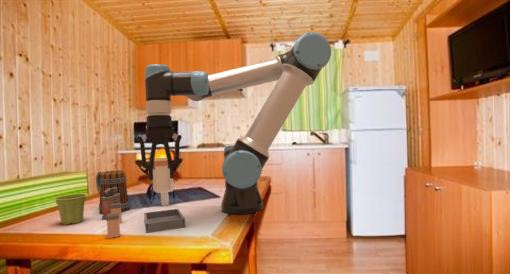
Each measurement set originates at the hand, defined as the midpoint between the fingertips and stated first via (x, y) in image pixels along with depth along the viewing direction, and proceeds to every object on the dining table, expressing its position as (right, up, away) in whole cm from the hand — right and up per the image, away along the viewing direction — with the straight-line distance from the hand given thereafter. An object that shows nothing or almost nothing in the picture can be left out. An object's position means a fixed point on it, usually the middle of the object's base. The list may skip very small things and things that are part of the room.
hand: (161, 189), depth 97 cm
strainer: (-7, -11, +27) cm, 30 cm away
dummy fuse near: (-10, -11, -10) cm, 18 cm away
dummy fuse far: (-16, -11, +4) cm, 20 cm away
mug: (-26, -12, +22) cm, 36 cm away
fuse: (0, 0, 0) cm, 0 cm away
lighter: (-21, -12, +12) cm, 27 cm away
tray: (+1, -11, 0) cm, 11 cm away
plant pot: (-32, -12, +7) cm, 35 cm away
